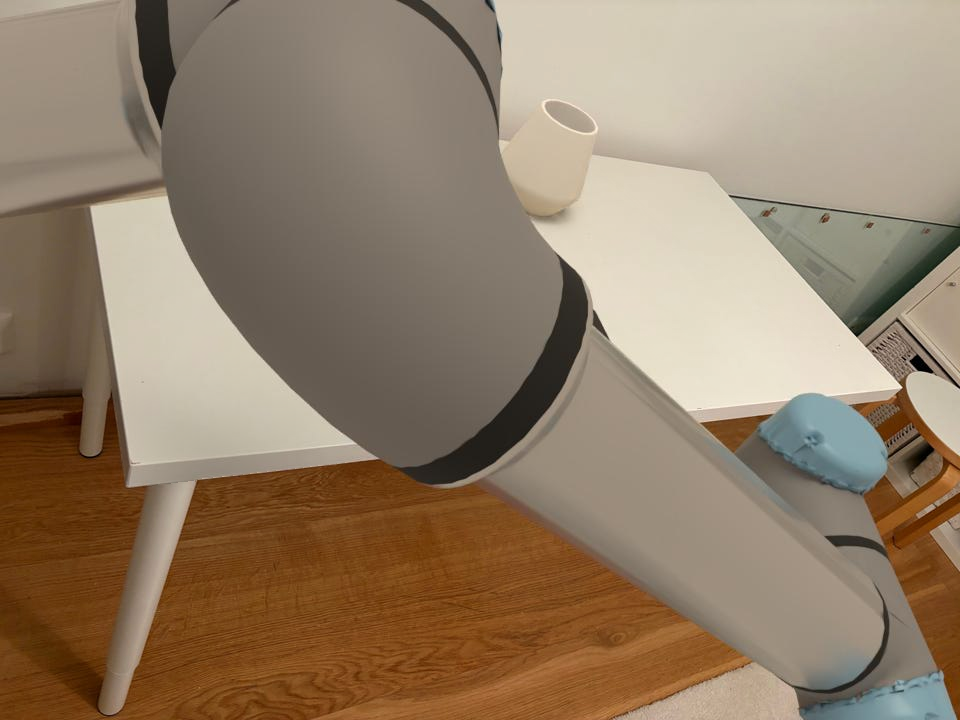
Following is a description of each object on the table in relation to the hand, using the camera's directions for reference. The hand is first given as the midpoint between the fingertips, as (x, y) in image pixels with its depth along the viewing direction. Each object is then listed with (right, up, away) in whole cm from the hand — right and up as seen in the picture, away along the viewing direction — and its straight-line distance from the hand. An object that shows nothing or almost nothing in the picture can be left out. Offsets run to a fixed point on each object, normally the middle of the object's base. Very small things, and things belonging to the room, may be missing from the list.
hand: (469, 289), depth 69 cm
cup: (+8, +18, +41) cm, 45 cm away
